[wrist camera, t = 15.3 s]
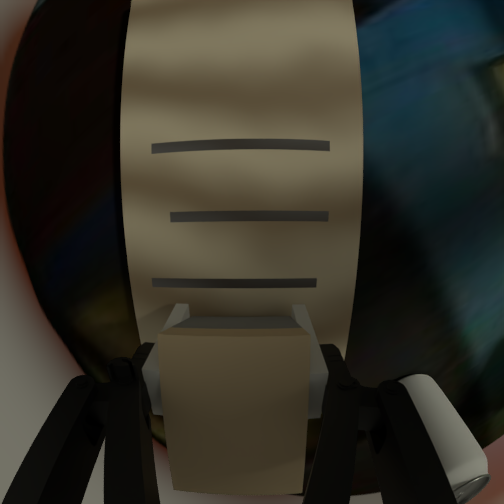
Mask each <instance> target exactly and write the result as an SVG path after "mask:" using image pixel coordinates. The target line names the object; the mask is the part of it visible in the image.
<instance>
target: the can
mask: <svg viewBox="0 0 504 504" xmlns="http://www.w3.org/2000/svg"><path fill="white" fill-rule="evenodd" d="M398 382H400V383H402V384H403V385H404V386H405V387H406V389H407V391H408V393H409V395H410V397H411V399H412V401H413V403H414V405H415V407H416V409H417V411H418V413H419V415H420V417H421V419H422V421H423V423H424V426H425V428H426V430H427V432H428V434H429V436H430V438H431V441H432V443H433V445H434V447H435V450H436V452H437V454H438V456H439V459H440V461H441V463H442V466H443V468H444V470H445V473H446V475H447V478H448V480H449V483H450V485H451V488H452V490H453V493H454V495H455V498H456V500H457V503H458V504H465V503H466V502H468V501H469V500H471V499H472V498H473V497H475V496H476V495H477V494H478V493H479V492H480V491H481V490H482V489H483V488H484V487H485V486H486V485H487V484H488V482H489V481H490V479H491V476H490V475H489V474H488V471H487V458H486V456H485V454H484V452H483V451H482V449H481V447H480V446H479V444H478V443H477V441H476V440H475V438H474V437H473V435H472V433H471V432H470V430H469V429H468V427H467V426H466V424H465V423H464V422H463V420H462V419H461V417H460V416H459V414H458V413H457V411H456V410H455V409H454V407H453V406H452V404H451V403H450V401H449V400H448V399H447V397H446V396H445V394H444V393H443V392H442V390H441V389H440V388H439V386H438V385H437V384H436V382H435V381H434V380H433V379H432V378H431V377H430V376H428V375H423V374H414V375H409V376H406V377H404V378H402V379H400V380H398Z"/></svg>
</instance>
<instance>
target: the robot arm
mask: <svg viewBox="0 0 504 504" xmlns="http://www.w3.org/2000/svg"><path fill="white" fill-rule="evenodd" d="M188 318H190V314H189V304H177V303H176V305H175V307H174V309H173V310H172V312H171V314H170V316H169V318H168V320H167V322H166V323H165V325H164V327H163V329H162V331H164V330H166V329H168V328H170V327H172V326H174V325H176V324H178V323H180V322H182V321H184V320H186V319H188ZM291 318H292V319H293V320H295V321H296V322H297V323H298V324H299V325H300V326H301V327H302V328H303V329H304V330H306V331H307V332H308V333H309V334H310V335H311V344H310V381H309V405H308V419H313V418H320V416H321V411H322V413H323V421H322V426H321V430H320V435H319V440H318V444H317V449H316V453H315V457H314V461H313V465H312V469H311V473H310V477H309V481H308V485H307V488H306V492H305V496H304V499H303V503H302V504H349V501H350V495H351V488H352V481H353V473H354V465H355V456H356V446H357V435H358V430H365V433H366V436H367V440H368V444H369V447H370V451H371V455H372V459H373V463H374V467H375V471H376V475H377V479H378V483H379V487H380V491H381V496H382V500H383V504H458V503H457V500H456V498H455V495H454V493H453V490H452V488H451V485H450V483H449V480H448V478H447V475H446V473H445V470H444V468H443V466H442V463H441V461H440V459H439V456H438V454H437V452H436V450H435V447H434V445H433V443H432V441H431V438H430V436H429V434H428V432H427V430H426V428H425V426H424V423H423V421H422V419H421V417H420V415H419V413H418V411H417V409H416V407H415V405H414V403H413V401H412V399H411V397H410V395H409V393H408V391H407V389H406V387H405V386H404V385H403V384H402V383H400V382H398V381H395V380H387V381H383V382H382V383H380V385H379V386H378V388H370V387H364V386H361V385H360V383H359V382H358V381H357V379H355V378H353V377H351V375H350V373H349V371H348V368H347V366H346V364H345V361H344V359H343V357H342V355H341V352H340V350H339V348H337V347H336V346H335V345H334V344H319V343H318V340H317V337H316V334H315V331H314V329H313V326H312V323H311V320H310V317H309V314H308V312H307V309H306V306H305V304H292V315H291ZM162 331H161V332H162ZM106 367H107V370H108V374H109V377H110V380H111V382H108V383H96V384H95V381H94V379H93V378H92V377H91V376H88V375H80V376H77V377H75V378H73V379H72V380H71V381H70V382H69V384H68V385H67V387H66V389H65V390H64V392H63V393H62V395H61V396H60V398H59V399H58V401H57V403H56V404H55V406H54V408H53V409H52V411H51V413H50V414H49V416H48V418H47V420H46V421H45V423H44V424H43V426H42V428H41V429H40V431H39V433H38V435H37V436H36V438H35V440H34V442H33V444H32V446H31V447H30V449H29V451H28V453H27V454H26V456H25V458H24V460H23V462H22V464H21V466H20V468H19V470H18V471H17V473H16V475H15V477H14V479H13V481H12V483H11V485H10V487H9V489H8V492H7V493H6V496H5V498H4V500H3V502H2V504H81V503H82V500H83V497H84V494H85V491H86V488H87V485H88V482H89V479H90V476H91V474H92V471H93V468H94V465H95V463H96V460H97V457H98V454H99V451H100V449H101V446H102V444H103V441H104V439H105V455H104V504H160V500H159V493H158V486H157V479H156V471H155V463H154V454H153V444H152V433H151V420H150V416H149V410H150V408H151V407H152V411H153V414H156V415H163V409H162V399H161V387H160V372H159V359H158V339H157V340H156V342H155V343H150V342H145V343H143V344H142V345H140V346H139V347H138V349H137V350H136V352H135V354H134V355H133V357H132V359H130V358H127V357H120V358H116V359H113V360H111V361H110V362H109V363H108V364H107V366H106ZM105 436H106V437H105Z"/></svg>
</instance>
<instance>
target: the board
mask: <svg viewBox="0 0 504 504" xmlns="http://www.w3.org/2000/svg"><path fill="white" fill-rule="evenodd" d="M120 160H121V189H122V206H123V220H124V232H125V242H126V252H127V260H128V268H129V276H130V283H131V290H132V297H133V303H134V309H135V315H136V320H137V326H138V331H139V336H140V341H141V345H142V344H143V343H145V342H150V343H155V342H156V340H157V334H159V333H161V331H162V329H163V327H164V325H165V323H166V322H167V320H168V318H169V316H170V314H171V312H172V310H173V309H174V307H175V305H176V303H177V304H189V314H190V317H191V316H214V317H265V316H290V317H291V315H292V304H305V306H306V309H307V312H308V314H309V317H310V320H311V323H312V326H313V329H314V331H315V334H316V337H317V340H318V343H319V344H334V345H335V346H336V347H337V348H339V350H340V352H341V355H342V357H343V359H344V358H345V353H346V347H347V341H348V335H349V328H350V322H351V315H352V307H353V300H354V292H355V283H356V274H357V264H358V253H359V241H360V227H361V210H362V187H363V116H362V93H361V77H360V64H359V53H358V43H357V34H356V26H355V18H354V11H353V4H352V0H132V3H131V9H130V16H129V22H128V30H127V37H126V46H125V55H124V66H123V79H122V95H121V124H120Z"/></svg>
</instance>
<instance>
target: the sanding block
mask: <svg viewBox="0 0 504 504" xmlns="http://www.w3.org/2000/svg"><path fill="white" fill-rule="evenodd" d="M157 339H158V359H159V372H160V387H161V399H162V409H163V419H164V427H165V436H166V443H167V451H168V458H169V464H170V471H171V477H172V483H173V488H174V490H180V491H188V492H197V493H209V494H226V495H276V494H293V493H302V487H303V477H304V465H305V453H306V439H307V423H308V405H309V381H310V344H311V335H310V334H309V333H308V332H307V331H306V330H304V329H303V328H302V327H301V326H300V325H299V324H298V323H297V322H296V321H295V320H293V319H292V318H291V317H290V316H265V317H214V316H191V317H190V318H188V319H186V320H184V321H182V322H180V323H178V324H176V325H174V326H172V327H170V328H168V329H166V330H164V331H162V332H161V333H159V334H157Z"/></svg>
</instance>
